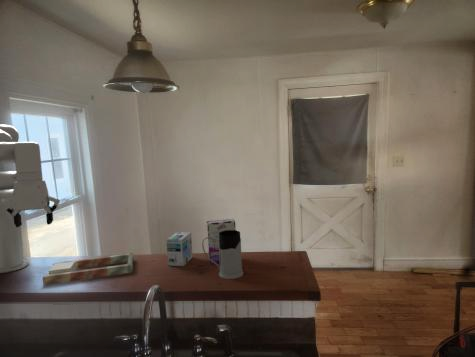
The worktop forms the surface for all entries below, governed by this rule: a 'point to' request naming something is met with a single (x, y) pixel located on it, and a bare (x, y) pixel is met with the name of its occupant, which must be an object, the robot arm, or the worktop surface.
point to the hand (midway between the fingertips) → (34, 225)
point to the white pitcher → (229, 254)
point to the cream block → (62, 268)
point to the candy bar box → (217, 236)
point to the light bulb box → (179, 249)
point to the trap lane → (93, 272)
